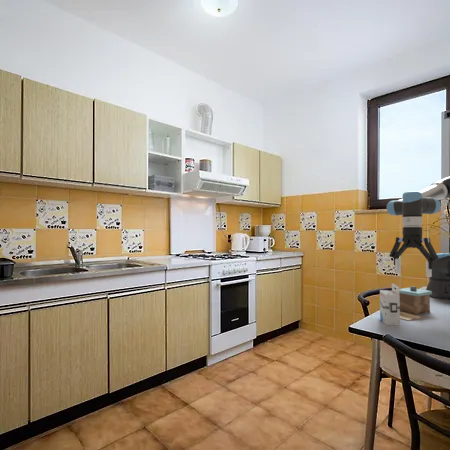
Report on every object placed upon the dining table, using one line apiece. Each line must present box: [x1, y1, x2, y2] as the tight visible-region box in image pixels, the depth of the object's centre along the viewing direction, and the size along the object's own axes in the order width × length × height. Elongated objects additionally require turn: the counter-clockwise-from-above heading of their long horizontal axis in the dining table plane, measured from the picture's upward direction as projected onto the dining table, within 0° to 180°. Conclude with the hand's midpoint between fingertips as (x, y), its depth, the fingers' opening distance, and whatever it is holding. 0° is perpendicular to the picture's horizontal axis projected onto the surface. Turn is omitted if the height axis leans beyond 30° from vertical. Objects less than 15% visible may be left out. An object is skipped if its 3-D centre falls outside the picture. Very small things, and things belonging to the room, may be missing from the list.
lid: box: [395, 285, 432, 296], centre depth 136 cm, size 10×10×4 cm
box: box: [399, 293, 431, 316], centre depth 136 cm, size 10×8×8 cm
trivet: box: [400, 311, 423, 322], centre depth 128 cm, size 9×9×1 cm
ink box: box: [379, 283, 401, 327], centre depth 121 cm, size 9×5×15 cm, turn 168°
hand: (412, 274), depth 136 cm, fingers open, 13 cm apart
